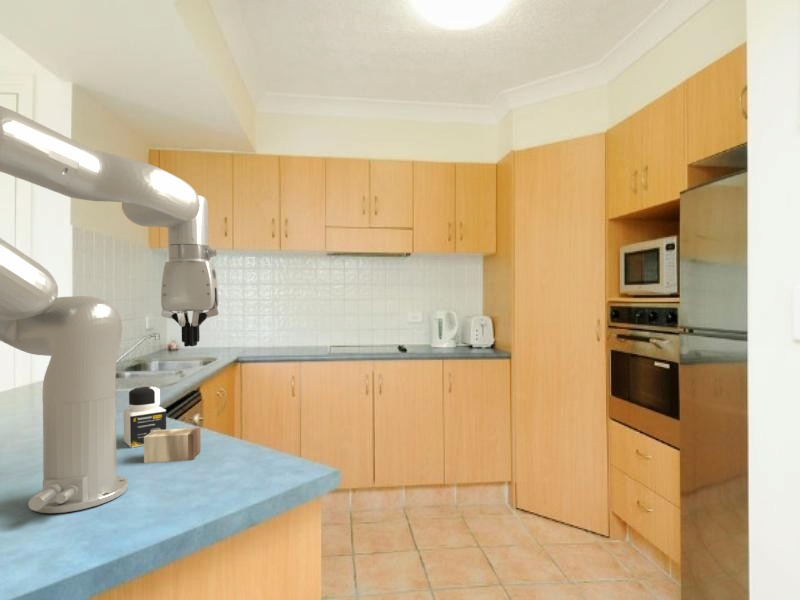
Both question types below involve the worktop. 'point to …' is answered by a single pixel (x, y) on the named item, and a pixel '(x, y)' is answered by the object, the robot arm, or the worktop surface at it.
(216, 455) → the worktop surface
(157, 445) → the birch block
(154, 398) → the medicine bottle
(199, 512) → the worktop surface
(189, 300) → the robot arm
